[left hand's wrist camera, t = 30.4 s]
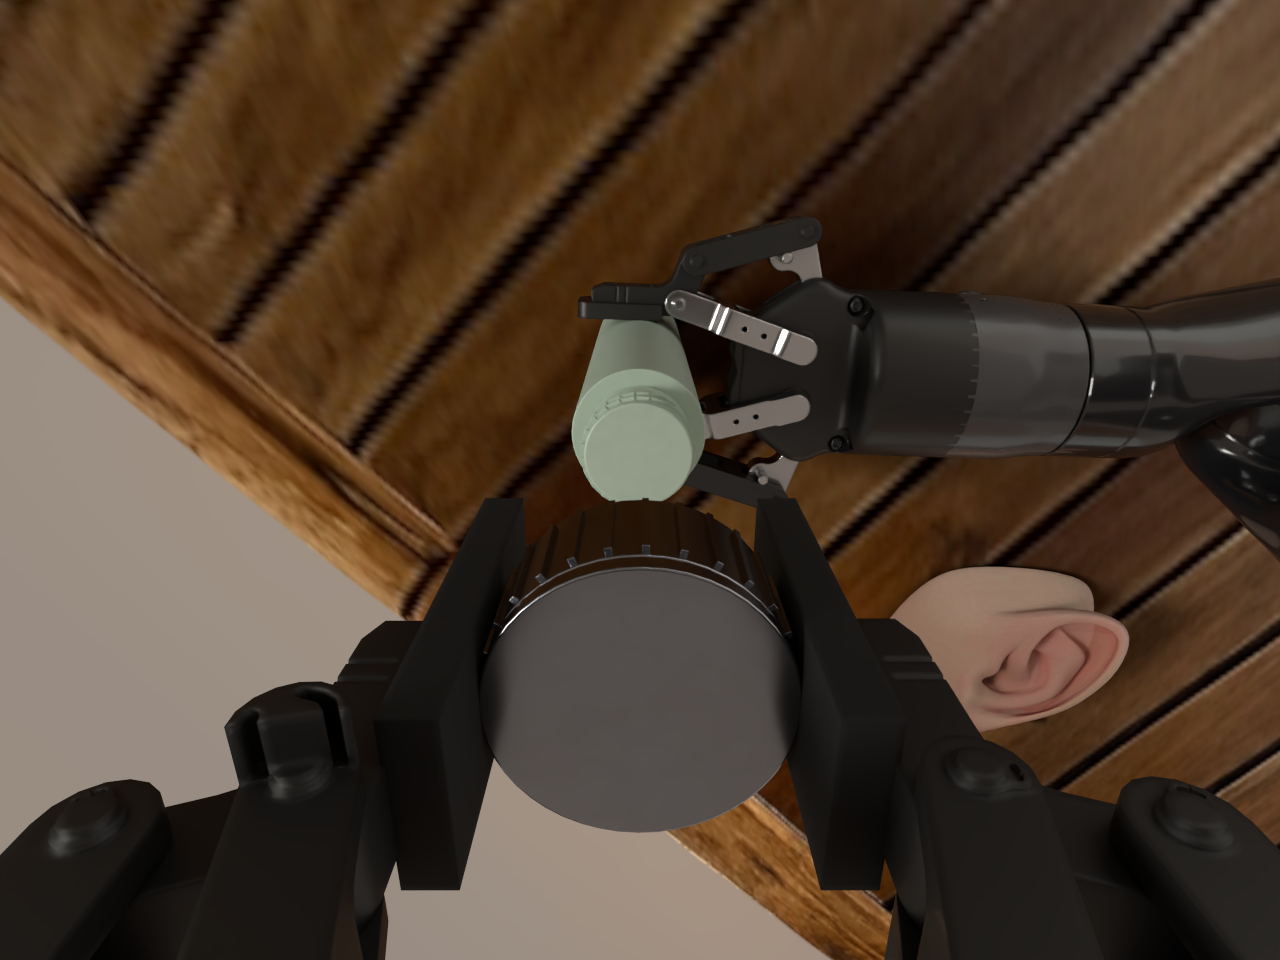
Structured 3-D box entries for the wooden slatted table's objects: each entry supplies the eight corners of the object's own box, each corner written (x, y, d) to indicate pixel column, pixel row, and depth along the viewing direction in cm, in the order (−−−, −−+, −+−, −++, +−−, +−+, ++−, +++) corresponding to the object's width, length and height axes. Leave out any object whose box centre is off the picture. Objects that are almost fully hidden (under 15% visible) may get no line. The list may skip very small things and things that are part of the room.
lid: (748, 748, 14) (769, 852, 12) (491, 717, 13) (463, 819, 11) (808, 515, 12) (845, 588, 10) (513, 476, 12) (484, 541, 9)
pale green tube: (600, 295, 39) (566, 381, 21) (681, 300, 39) (718, 388, 21) (598, 375, 40) (564, 519, 22) (675, 379, 40) (705, 526, 22)
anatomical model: (868, 733, 44) (942, 570, 40) (851, 691, 48) (916, 539, 44) (1069, 774, 45) (1159, 620, 41) (1036, 730, 49) (1116, 585, 45)
